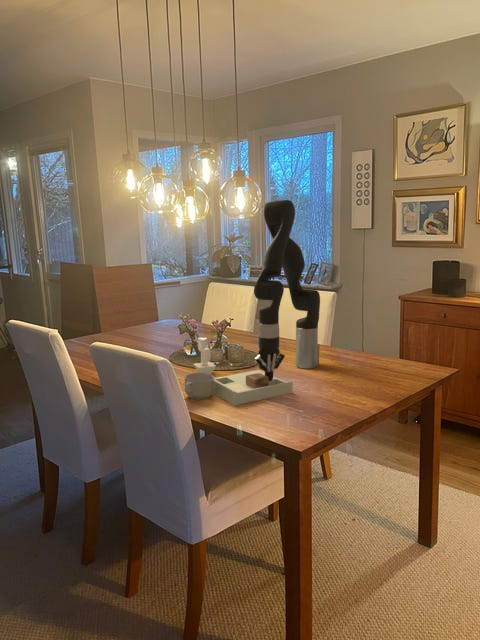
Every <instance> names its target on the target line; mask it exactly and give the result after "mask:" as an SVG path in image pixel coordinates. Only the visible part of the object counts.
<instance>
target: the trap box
mask: <svg viewBox="0 0 480 640" xmlns="http://www.w3.org/2000/svg"><path fill="white" fill-rule="evenodd" d="M256 373H261V374H263V375H265V371H263V370H261V369H257V370H251V371H247V372H246V371H245V372H240V373H236V374H235V373H234V374H231V375H230V374H229V375H225V376H220V377H215V379H214V390H213V393H212V394H215V395H216V396H218V397H219V398H220V399H223V400H225V401H226V402H228V403H230V404H231V405H233V406H238V405H243V404H246V403H250V402H257V401H260V400H265V399H269V398H275V397H278V396H283V395H288V394H293V390H294V389H293V387H294V386H293V381H292V380H291V381H285V380H283V379H281V378H278V377H276V376H274V375H273V379H272V381H268V386H265V387H260V388H256V389H254V388H252V387H250V386H248V385H246V375H251V374H256Z"/></svg>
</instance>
